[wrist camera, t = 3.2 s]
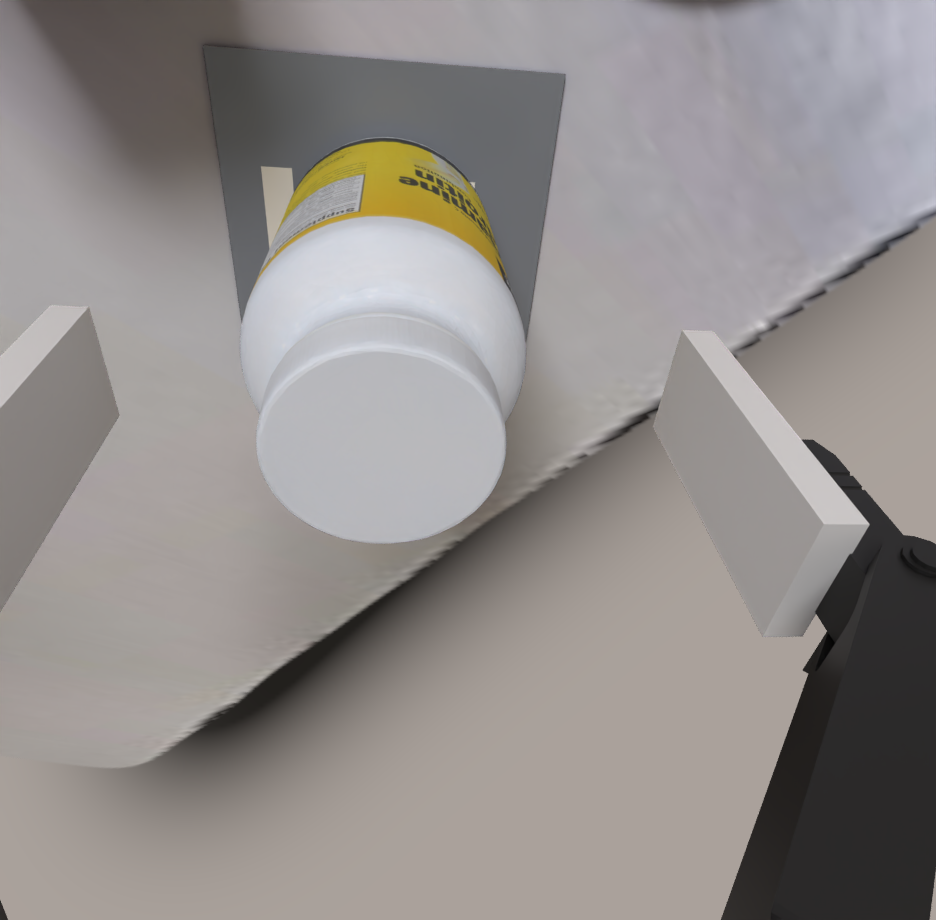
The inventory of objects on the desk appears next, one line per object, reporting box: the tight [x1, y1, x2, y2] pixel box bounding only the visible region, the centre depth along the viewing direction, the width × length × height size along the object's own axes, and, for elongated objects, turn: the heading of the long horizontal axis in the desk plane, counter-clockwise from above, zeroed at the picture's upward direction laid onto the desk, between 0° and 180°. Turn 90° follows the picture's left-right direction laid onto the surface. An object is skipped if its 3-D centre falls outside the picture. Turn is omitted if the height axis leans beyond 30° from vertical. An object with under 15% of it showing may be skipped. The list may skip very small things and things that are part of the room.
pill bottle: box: [240, 137, 526, 544], centre depth 17 cm, size 6×6×12 cm
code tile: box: [203, 45, 565, 343], centre depth 22 cm, size 10×10×1 cm
